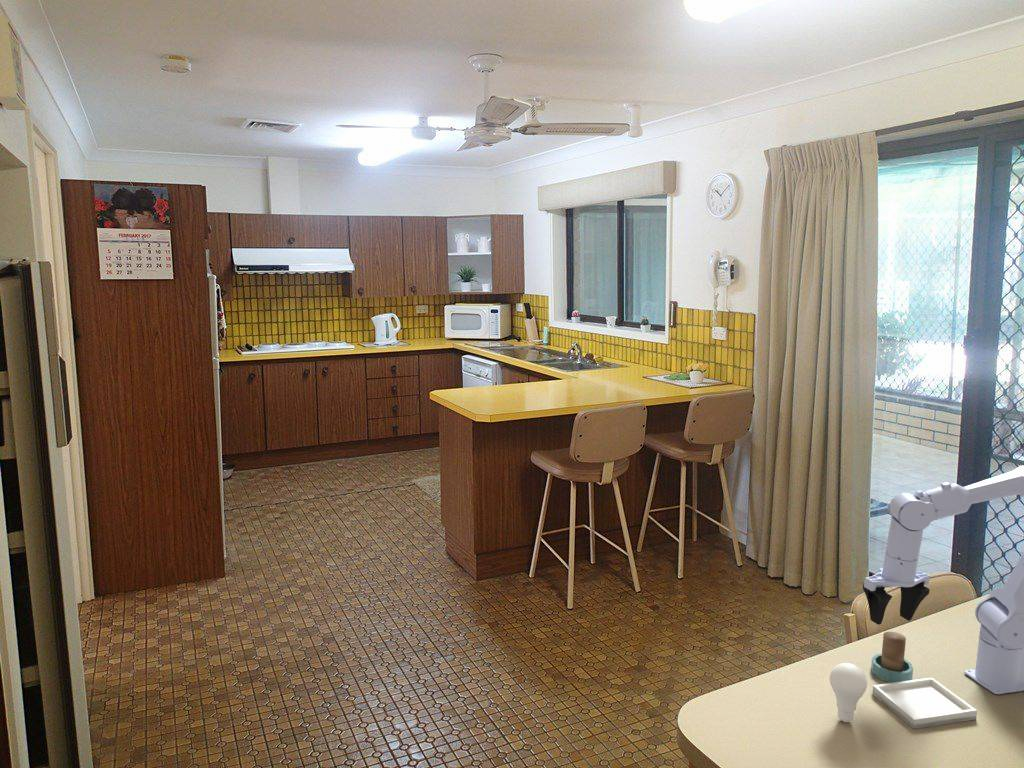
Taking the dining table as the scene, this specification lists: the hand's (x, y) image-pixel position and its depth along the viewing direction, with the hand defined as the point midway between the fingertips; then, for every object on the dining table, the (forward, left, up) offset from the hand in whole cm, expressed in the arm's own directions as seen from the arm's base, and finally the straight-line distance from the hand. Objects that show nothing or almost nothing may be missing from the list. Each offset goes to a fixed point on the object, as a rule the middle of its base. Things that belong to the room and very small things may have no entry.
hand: (890, 620), depth 149 cm
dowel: (-1, 0, -12) cm, 12 cm away
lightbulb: (+18, +12, -12) cm, 24 cm away
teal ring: (-1, 0, -12) cm, 12 cm away
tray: (+1, +11, -12) cm, 16 cm away
